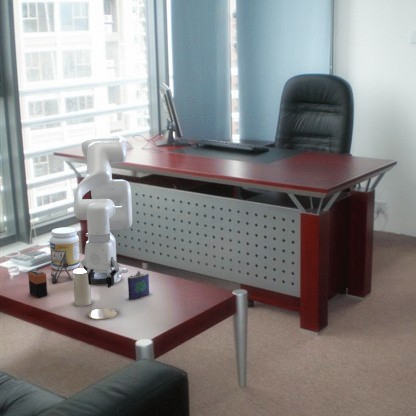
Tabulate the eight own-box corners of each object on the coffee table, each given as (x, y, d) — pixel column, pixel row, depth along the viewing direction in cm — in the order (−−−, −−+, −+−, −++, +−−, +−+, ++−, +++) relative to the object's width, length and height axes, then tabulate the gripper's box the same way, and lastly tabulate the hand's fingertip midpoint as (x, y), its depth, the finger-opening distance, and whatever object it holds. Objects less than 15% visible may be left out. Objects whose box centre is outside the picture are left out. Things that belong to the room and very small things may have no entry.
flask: (147, 293, 268) (146, 267, 266) (151, 294, 266) (150, 269, 264) (127, 298, 262) (126, 272, 259) (131, 300, 260) (130, 274, 257)
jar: (87, 299, 261) (85, 267, 258) (94, 303, 256) (92, 271, 253) (72, 302, 257) (70, 270, 254) (78, 307, 252) (76, 274, 249)
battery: (37, 298, 260) (35, 273, 258) (29, 293, 265) (27, 269, 262) (48, 295, 263) (46, 271, 261) (39, 291, 268) (38, 267, 266)
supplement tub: (46, 270, 293) (43, 232, 289) (60, 261, 305) (57, 225, 301) (72, 272, 291) (69, 234, 287) (85, 263, 303) (83, 227, 299)
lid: (95, 286, 238) (95, 280, 237) (87, 281, 243) (86, 275, 243) (114, 282, 243) (114, 276, 242) (106, 277, 248) (105, 271, 247)
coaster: (109, 307, 253) (109, 306, 253) (121, 315, 246) (121, 314, 245) (83, 313, 246) (83, 312, 246) (95, 321, 239) (95, 320, 239)
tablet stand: (50, 277, 284) (49, 258, 282) (70, 275, 287) (69, 256, 285) (52, 283, 276) (51, 264, 274) (72, 281, 279) (71, 262, 277)
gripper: (71, 237, 239) (74, 285, 243) (113, 243, 233) (115, 291, 237) (85, 232, 246) (87, 278, 249) (126, 238, 240) (127, 284, 244)
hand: (101, 284), depth 243 cm, fingers closed on lid, 7 cm apart
